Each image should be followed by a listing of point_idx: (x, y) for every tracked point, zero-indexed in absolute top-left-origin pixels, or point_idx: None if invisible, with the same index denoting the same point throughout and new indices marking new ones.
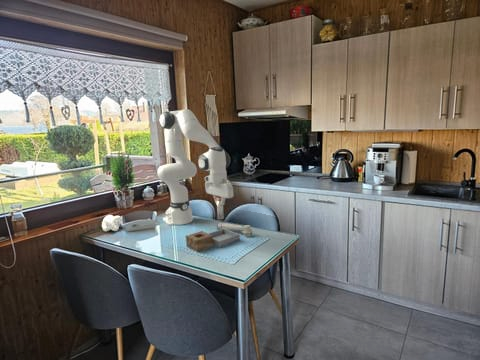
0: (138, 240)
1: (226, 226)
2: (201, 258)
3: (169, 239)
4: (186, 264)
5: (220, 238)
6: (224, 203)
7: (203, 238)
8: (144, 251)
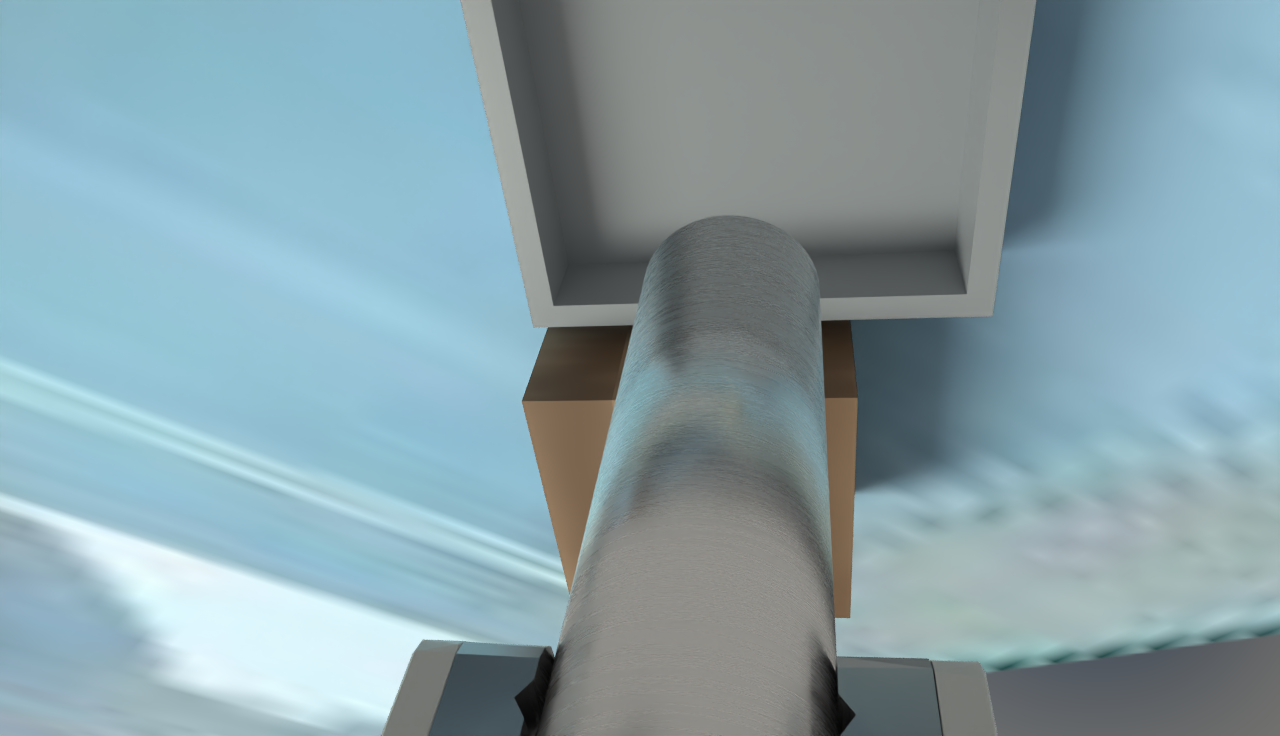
0: (153, 671)
1: None
2: (1033, 542)
3: (260, 511)
4: (1013, 668)
5: (713, 75)
6: (984, 692)
7: (851, 533)
8: None
